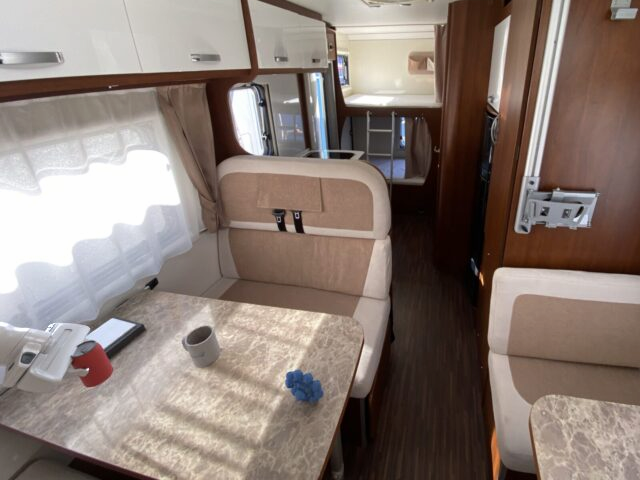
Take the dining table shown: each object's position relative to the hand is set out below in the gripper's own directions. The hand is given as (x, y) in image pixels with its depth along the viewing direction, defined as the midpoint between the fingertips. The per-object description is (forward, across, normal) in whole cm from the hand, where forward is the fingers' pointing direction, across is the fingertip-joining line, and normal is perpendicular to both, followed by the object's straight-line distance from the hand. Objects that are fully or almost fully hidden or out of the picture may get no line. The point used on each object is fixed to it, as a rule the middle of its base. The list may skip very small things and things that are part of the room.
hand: (93, 360), depth 86 cm
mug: (+29, -6, +4) cm, 30 cm away
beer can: (+4, 0, -5) cm, 7 cm away
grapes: (+50, +26, +25) cm, 62 cm away
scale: (+5, -29, -20) cm, 36 cm away
